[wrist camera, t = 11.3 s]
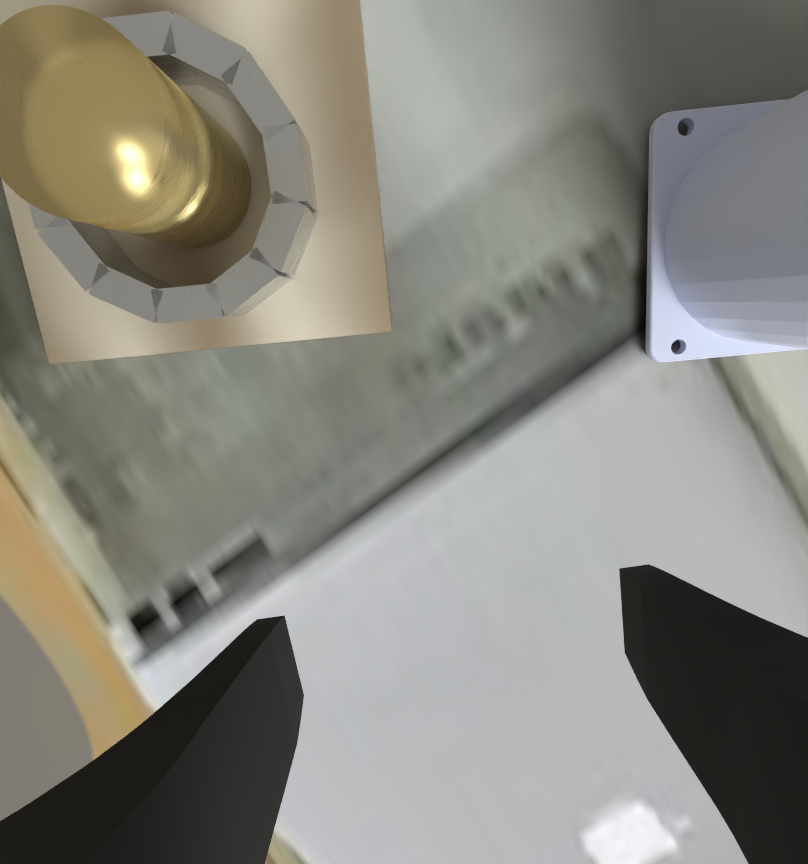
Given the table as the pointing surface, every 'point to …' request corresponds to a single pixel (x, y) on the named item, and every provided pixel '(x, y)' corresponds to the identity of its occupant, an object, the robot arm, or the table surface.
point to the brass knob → (111, 134)
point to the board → (334, 185)
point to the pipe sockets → (287, 171)
